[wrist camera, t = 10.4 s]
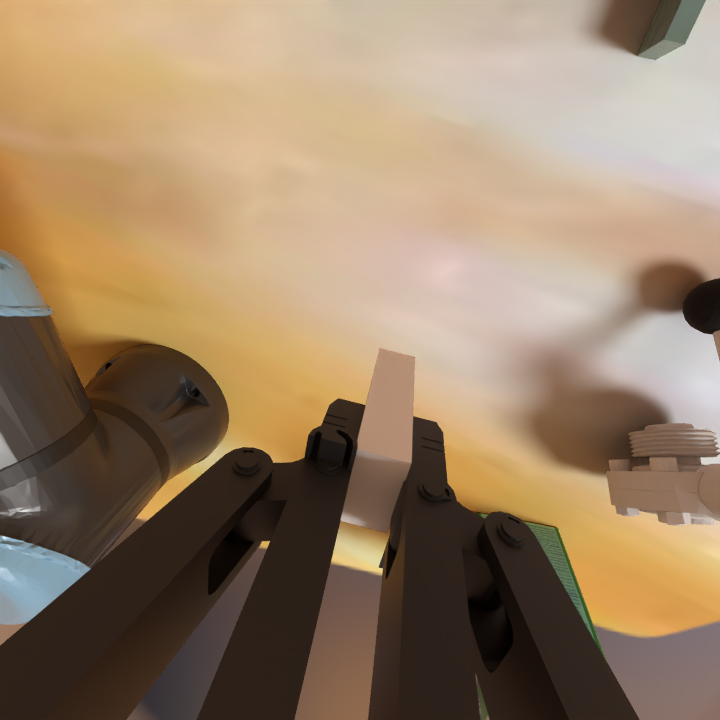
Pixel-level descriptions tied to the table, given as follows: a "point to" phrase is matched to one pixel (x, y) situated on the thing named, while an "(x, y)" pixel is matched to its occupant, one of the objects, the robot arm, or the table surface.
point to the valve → (674, 449)
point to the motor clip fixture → (670, 27)
